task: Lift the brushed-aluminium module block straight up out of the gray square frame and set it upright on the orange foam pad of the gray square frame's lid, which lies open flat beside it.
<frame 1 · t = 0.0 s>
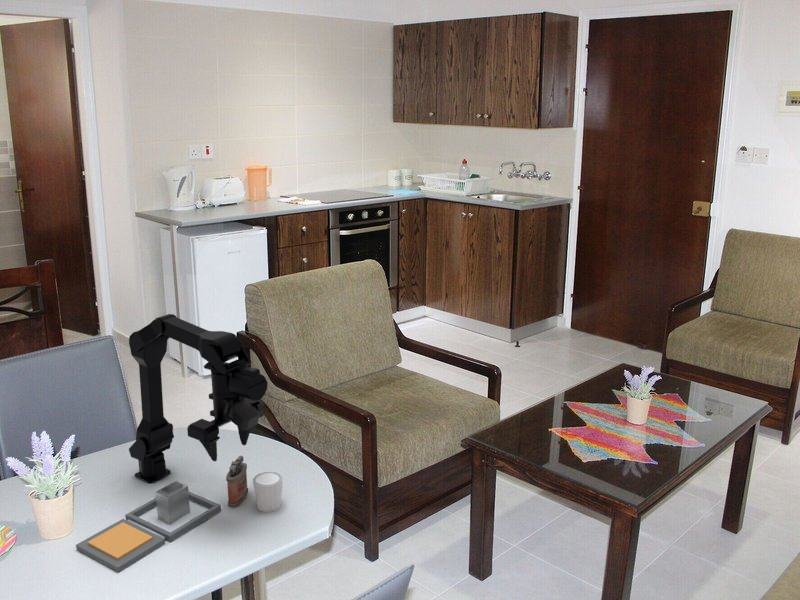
hand: (229, 452, 174), 15 cm above the table, fingers open, 9 cm apart
lid: (121, 546, 164), on the table
gray square frame: (174, 515, 176), on the table
grey cup: (268, 505, 180), on the table
red tin: (238, 499, 183), on the table
module: (172, 501, 175), in the gray square frame
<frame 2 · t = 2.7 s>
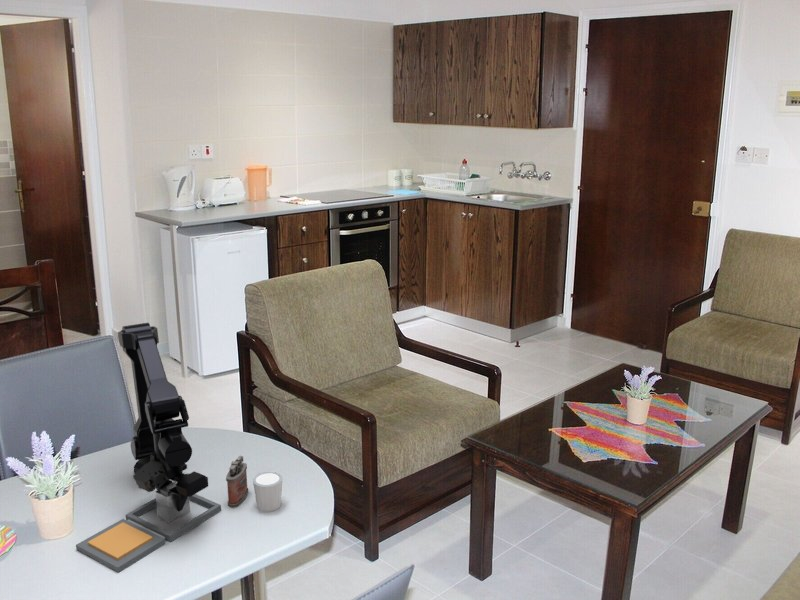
hand: (173, 507, 175), 2 cm above the table, fingers closed on module, 4 cm apart
module: (172, 501, 175), in the gray square frame, touching gripper
everything else where it was.
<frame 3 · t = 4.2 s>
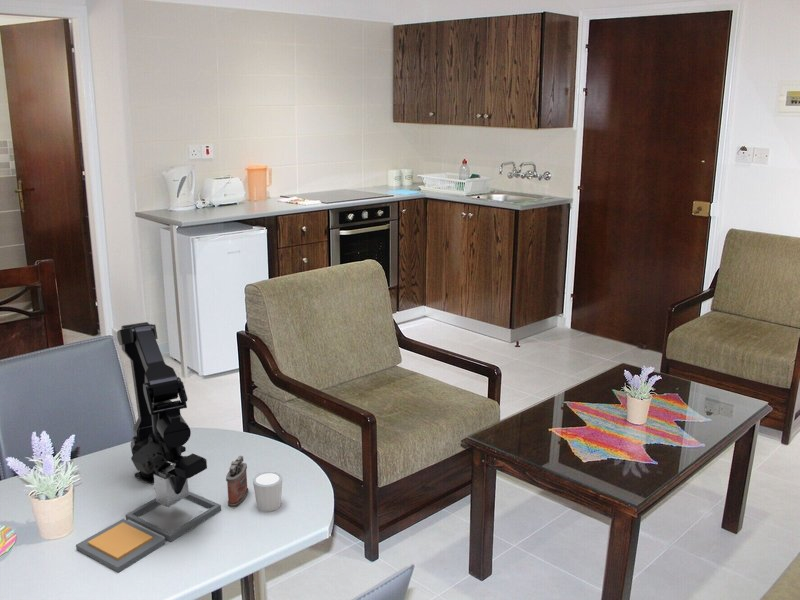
hand: (172, 490, 174), 6 cm above the table, fingers closed on module, 4 cm apart
module: (171, 484, 173), point 8 cm above the table, touching gripper
everything else where it was.
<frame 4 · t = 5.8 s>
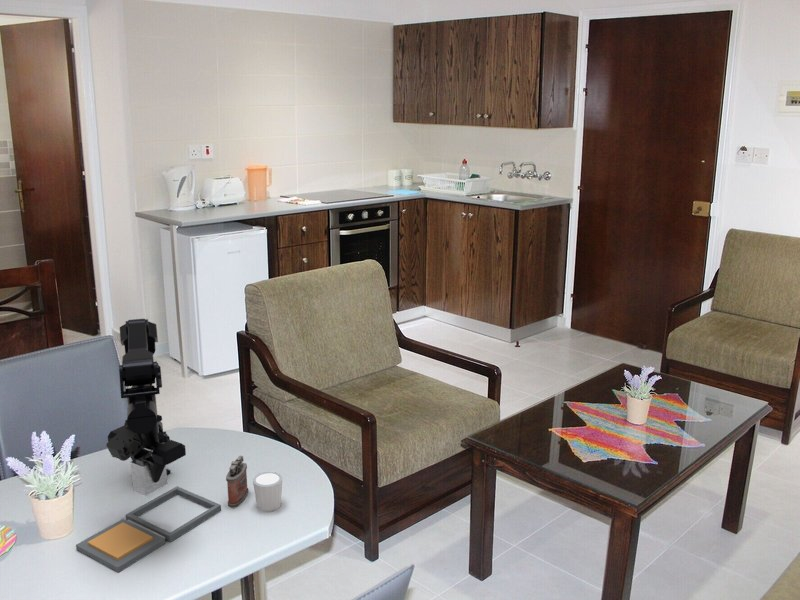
hand: (149, 479, 167), 12 cm above the table, fingers closed on module, 4 cm apart
module: (149, 472, 167), point 14 cm above the table, touching gripper
everything else where it was.
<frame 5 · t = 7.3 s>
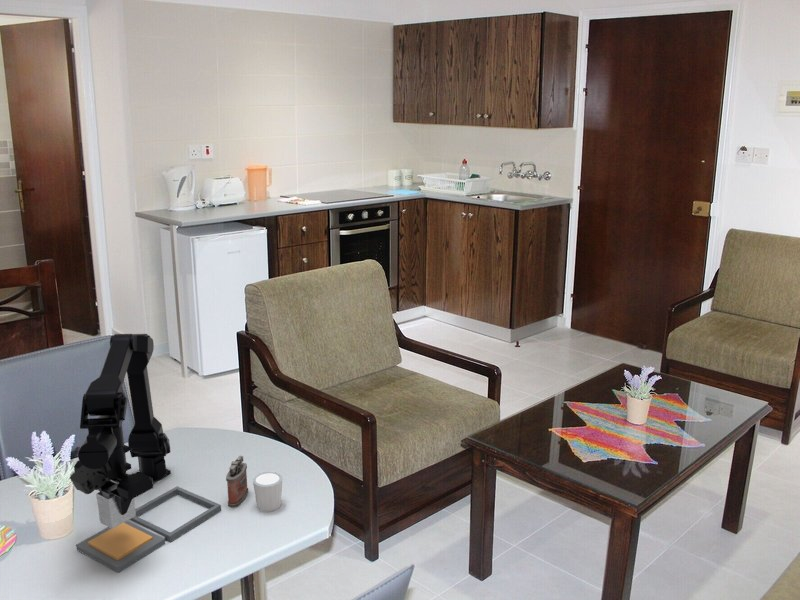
hand: (117, 510, 162), 9 cm above the table, fingers closed on module, 4 cm apart
module: (116, 503, 161), point 10 cm above the table, touching gripper
everything else where it was.
when the fingers open (5 cm above the table, at t = 8.9 s): module stays where it is, resting on lid.
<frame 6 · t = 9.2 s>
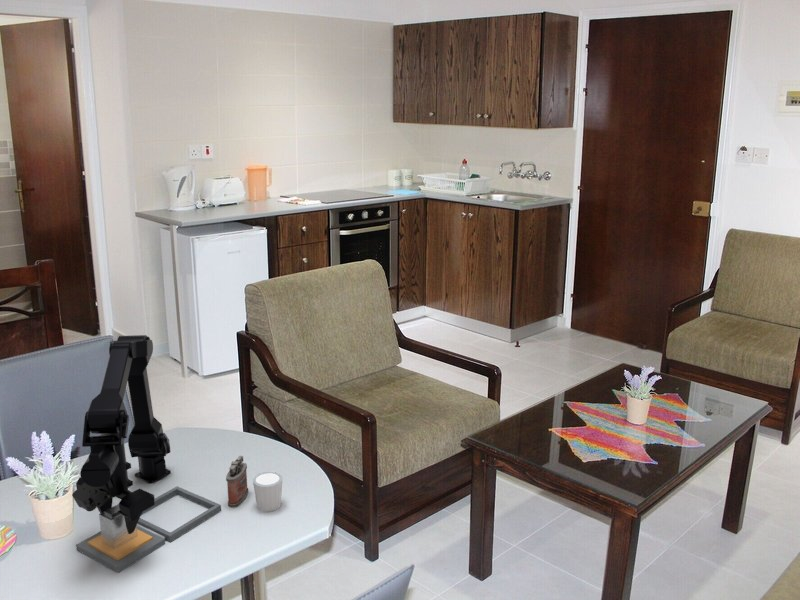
hand: (119, 527, 163), 5 cm above the table, fingers open, 8 cm apart
module: (118, 524, 163), on the lid, point 6 cm above the table
everything else where it was.
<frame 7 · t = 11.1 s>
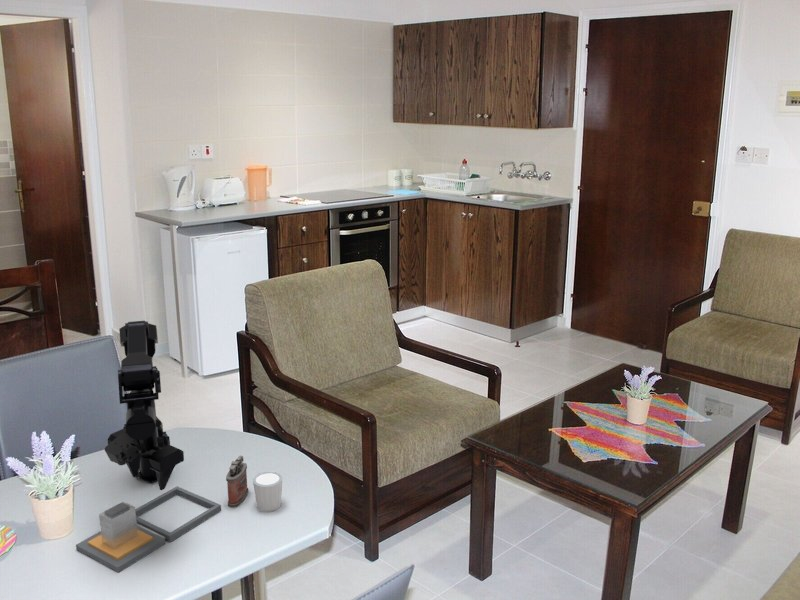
hand: (148, 482, 167), 12 cm above the table, fingers open, 9 cm apart
nothing on the table moved.
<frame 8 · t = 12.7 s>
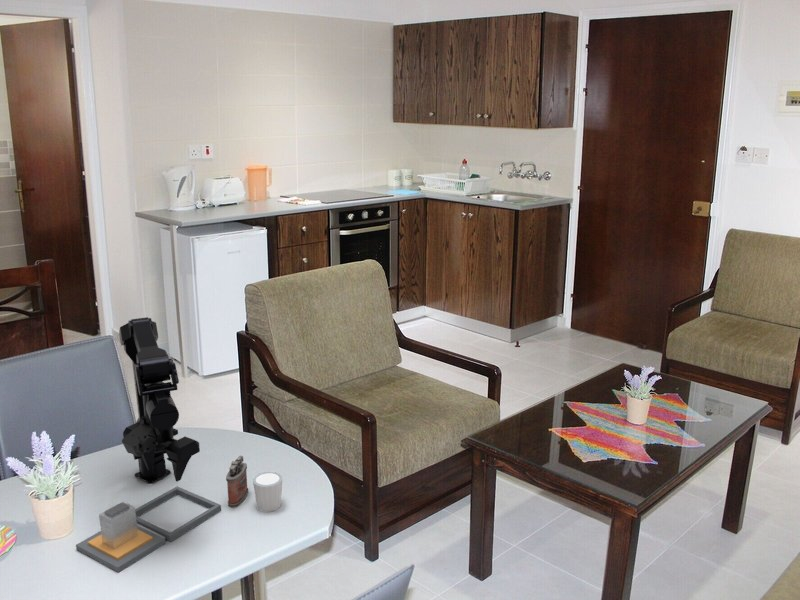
hand: (164, 474, 170), 12 cm above the table, fingers open, 9 cm apart
nothing on the table moved.
at the end: module inside the target area on the lid (0.0 cm from its centre), point 5.5 cm above the lid's base; module tilted 0°; the gripper is holding nothing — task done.
